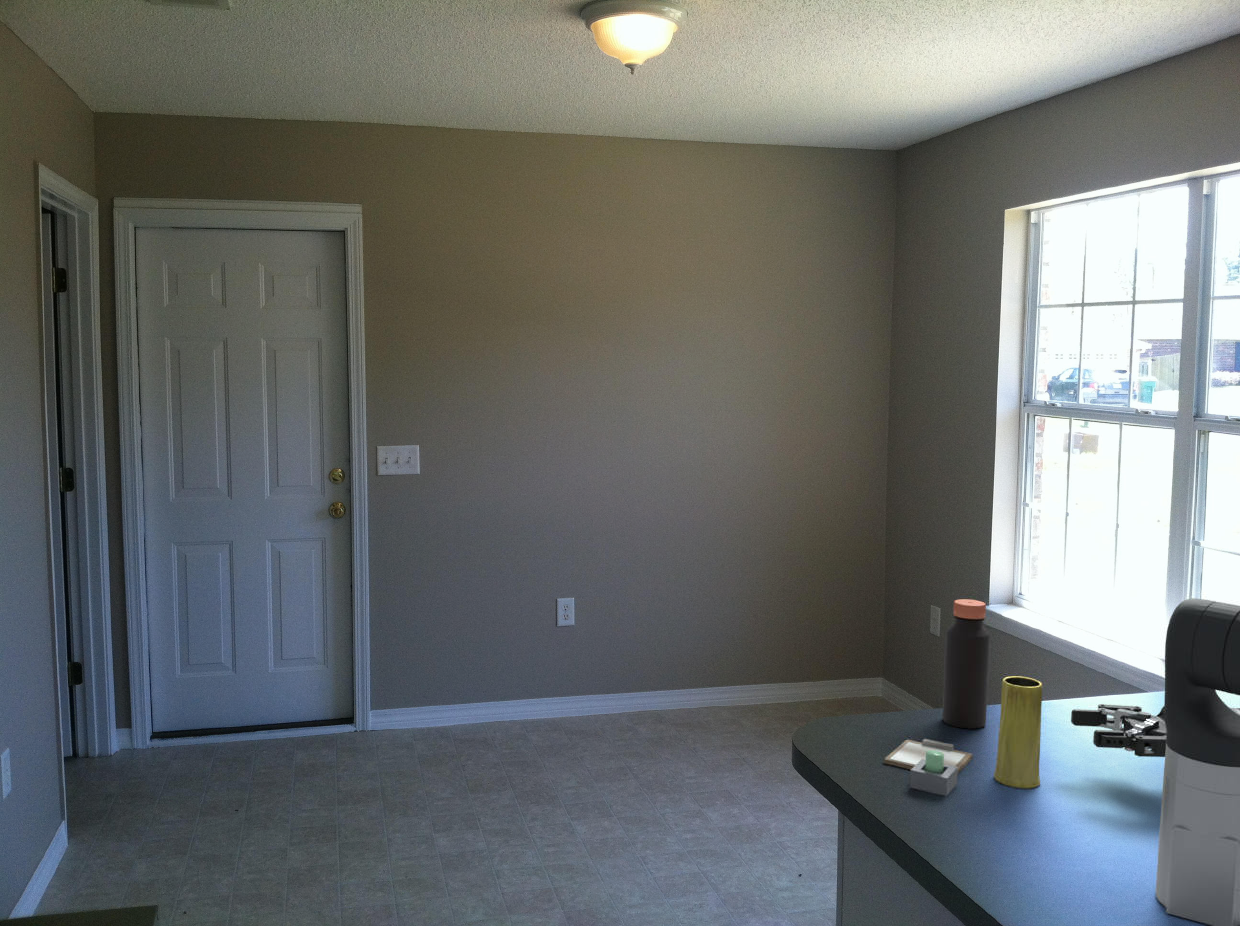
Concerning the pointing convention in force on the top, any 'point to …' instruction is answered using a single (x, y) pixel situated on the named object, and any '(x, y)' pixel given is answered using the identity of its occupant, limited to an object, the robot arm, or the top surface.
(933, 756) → the button
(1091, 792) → the top surface
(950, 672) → the bottle
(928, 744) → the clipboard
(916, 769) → the button housing
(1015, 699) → the vase
